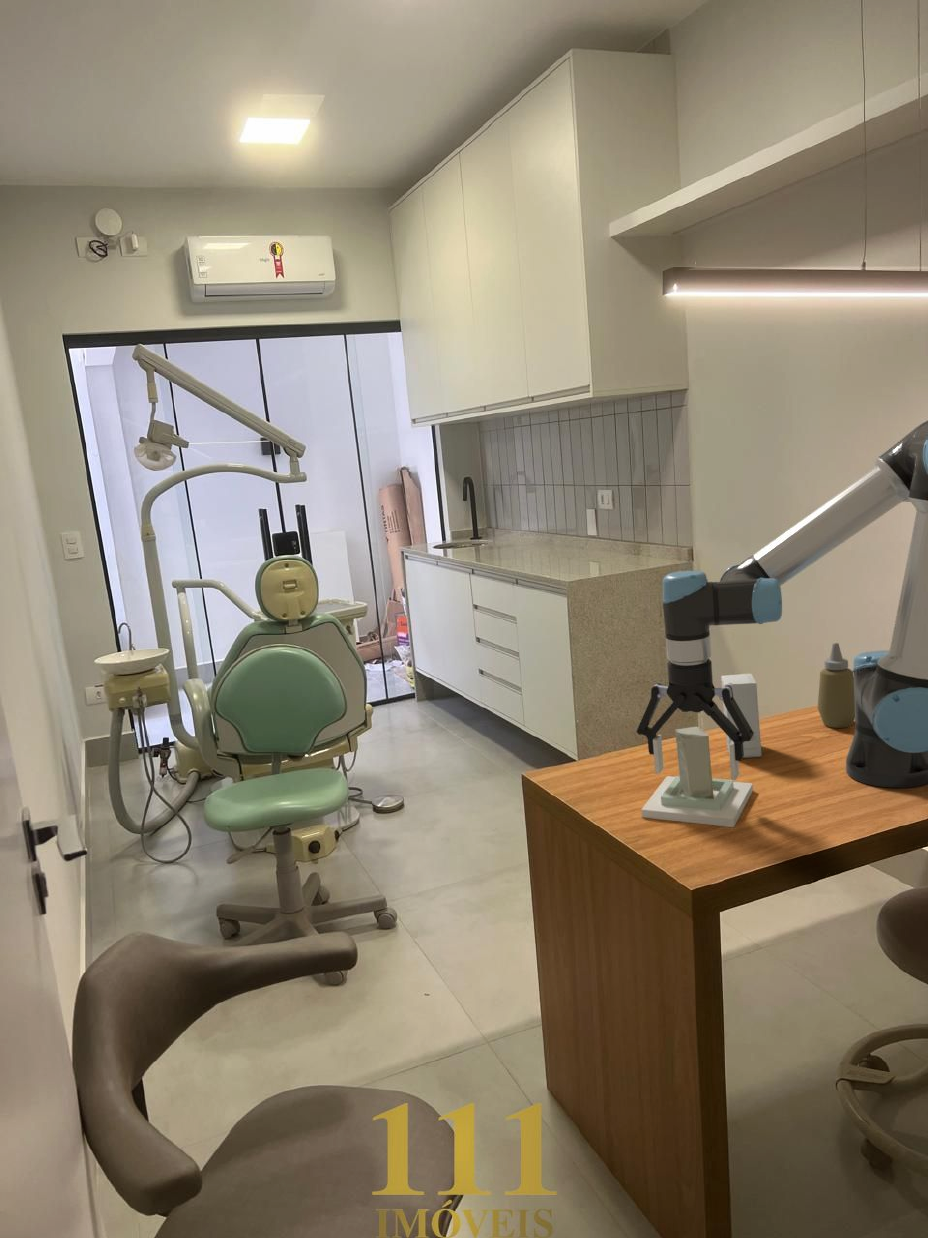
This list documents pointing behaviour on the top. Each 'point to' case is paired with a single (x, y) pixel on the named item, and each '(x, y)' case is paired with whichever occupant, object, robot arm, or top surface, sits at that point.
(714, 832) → the top surface
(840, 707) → the squeeze bottle
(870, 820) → the top surface
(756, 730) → the skincare box
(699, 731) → the skincare box
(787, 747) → the top surface
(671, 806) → the collar plate
